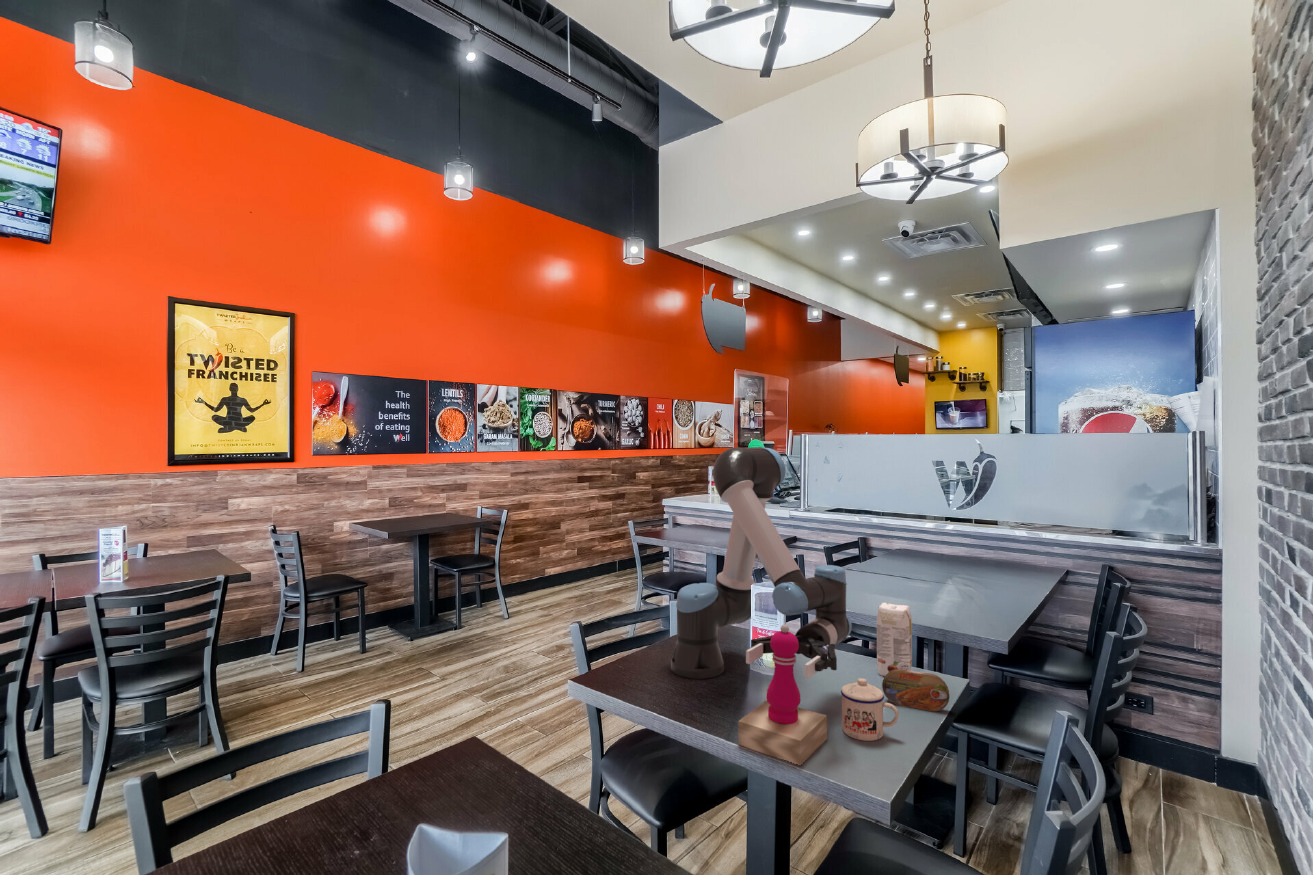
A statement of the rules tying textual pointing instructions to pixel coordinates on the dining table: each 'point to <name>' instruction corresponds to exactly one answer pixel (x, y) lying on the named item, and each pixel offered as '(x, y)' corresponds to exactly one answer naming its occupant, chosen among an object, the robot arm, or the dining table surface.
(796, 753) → the birch block
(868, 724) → the teacup with lid
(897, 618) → the juice carton
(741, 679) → the dining table surface
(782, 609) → the robot arm
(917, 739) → the dining table surface
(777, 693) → the pepper mill
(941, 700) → the tin
